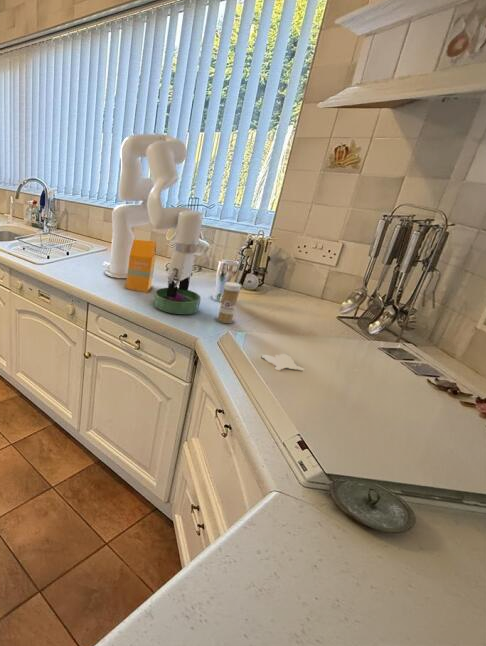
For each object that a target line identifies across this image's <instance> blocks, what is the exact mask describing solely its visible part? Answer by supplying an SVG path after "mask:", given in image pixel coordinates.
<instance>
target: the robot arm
mask: <svg viewBox="0 0 486 646" xmlns="http://www.w3.org/2000/svg"><path fill="white" fill-rule="evenodd" d="M119 152H120V153H119V154H120V163H121V165H120V166H121V168H120V176H119V185H118V198H119V200H120V201H122V202H139V203H128V204H127V203H125V204H120V205H119V204H118V205H116V206H115V207H114V208H113V209H112V211H111V222H112V236H111V247H110V257H109V262H107V261H104V262H102V268H106V270H105V272H104V273H105V275H106V276H108V277H111V278H115V279H127V274H128V266H129V257H130V252H131V248H132V244H133V240H135V234H134V231H133V230H132V227H140V226H141V227H142V226H147V225H148V224H151V225H152V227H153V228H154V229H156V230H175V229H176V230H175V237H174V242H173V248H172V251H173V252H172V255H171V258H170V261H169V262H170V263H169V266H168V272H167V275H166V276H167V277H166V278H167V280H168V281H167V283H168V284H167V288H168V290H167V296H169V297H173V298H175V297H176V295H177V289H178V288H179V289H181V290H185V291H187V290H189V286H190V280H191V275H192V272H193V268H194V262H195V254H197V253H198V246H199V242H200V235H201V230H202V225H203V221H204V214H203V213H202V212H201V211H198V210H192V209H191V208H189V207H187V206H171V207H163V204H162V199H161V198H162V197H161V196H162V192H163V191H165V190H167V189H169V188H171V187H173V186H174V185H175V184H176V183H177V182H178V181H179V174H178V170H177V167H176V165H180V164H182V163H183V162H185V160H186V158H187V154H188V149H187V146H186V144H185V143H184V142H183V141H182V140H181V139H178V138H175V137H172V136H170V135H168V134H163V133H142V134H138V133H137V134H132V135H129V136H127V137H126V138H125V139H124V140H123V142H122V143H121V146H120V151H119ZM140 158H146V160H147V164H148V168H149V172H150V175H151V177H143V171H144V170H143V169H144V168H143V163H142V161H141V159H140Z"/></svg>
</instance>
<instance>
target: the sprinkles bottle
mask: <svg viewBox="0 0 486 646" xmlns="http://www.w3.org/2000/svg"><path fill="white" fill-rule="evenodd" d="M241 287H242V285H241V284H240V283H238V282H236V281H235V282H226V283H225V286H224V293H223V297H222V302H220V307H219V311H218V315H217V321H218V322H219V323H222V324H232V322H233V319H234V314H235V311H236V306H237V302H238V297H239V294H240V291H241Z"/></svg>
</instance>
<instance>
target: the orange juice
mask: <svg viewBox="0 0 486 646" xmlns="http://www.w3.org/2000/svg"><path fill="white" fill-rule="evenodd" d="M156 256H157V241H151V240H142V239H134V240H133V244H132V248H131V252H130V257H129V266H128V274H127V278H126V285H125V289H127V290H133V291H138V292H143V293H148V292H149V291H150V290H151V288H152V283H153V277H154V273H155V272H154V271H155V262H156V258H157V257H156Z"/></svg>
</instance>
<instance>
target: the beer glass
mask: <svg viewBox="0 0 486 646" xmlns="http://www.w3.org/2000/svg"><path fill="white" fill-rule="evenodd" d="M216 267H217V268H216V271H215V273H216V274H215V288H214V293H213V294H212V299H213V300H214V301H216V302H220V303H221V302H222V297H223V293H224V286H225V283H226V282H235V283H236V280H237V277H238V273H239V268H240V261H237V260H234V259H230V258H229V259H227V258H225V259H224V258H223V259H219V261H218V265H217V266H216Z"/></svg>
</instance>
